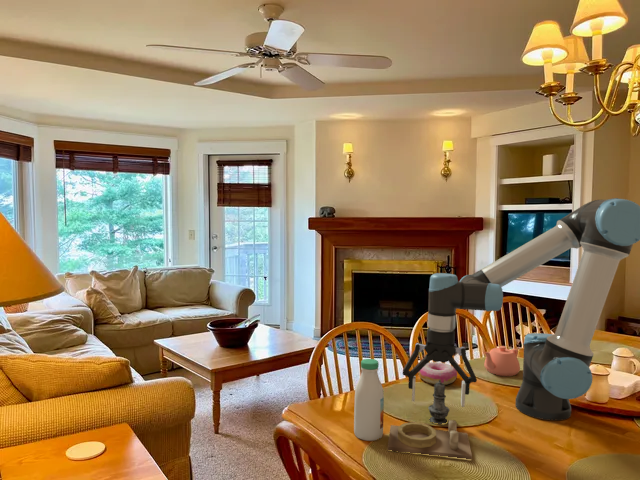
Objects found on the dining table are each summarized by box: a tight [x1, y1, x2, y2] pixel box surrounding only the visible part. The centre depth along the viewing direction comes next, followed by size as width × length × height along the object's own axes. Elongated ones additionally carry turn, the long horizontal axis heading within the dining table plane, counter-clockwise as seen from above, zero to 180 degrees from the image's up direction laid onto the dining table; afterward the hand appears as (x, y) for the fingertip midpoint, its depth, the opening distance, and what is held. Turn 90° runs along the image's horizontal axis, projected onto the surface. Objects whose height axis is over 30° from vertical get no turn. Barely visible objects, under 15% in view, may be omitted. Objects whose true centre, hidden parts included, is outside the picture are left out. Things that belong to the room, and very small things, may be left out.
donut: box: [417, 361, 458, 386], centre depth 167 cm, size 14×13×5 cm
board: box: [387, 419, 473, 460], centre depth 121 cm, size 20×12×5 cm, turn 78°
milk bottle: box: [353, 358, 385, 442], centre depth 125 cm, size 8×8×20 cm
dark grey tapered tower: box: [427, 380, 450, 424], centre depth 134 cm, size 6×6×12 cm
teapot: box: [483, 345, 521, 377], centre depth 176 cm, size 12×18×10 cm
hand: (437, 402), depth 134 cm, fingers open, 13 cm apart
